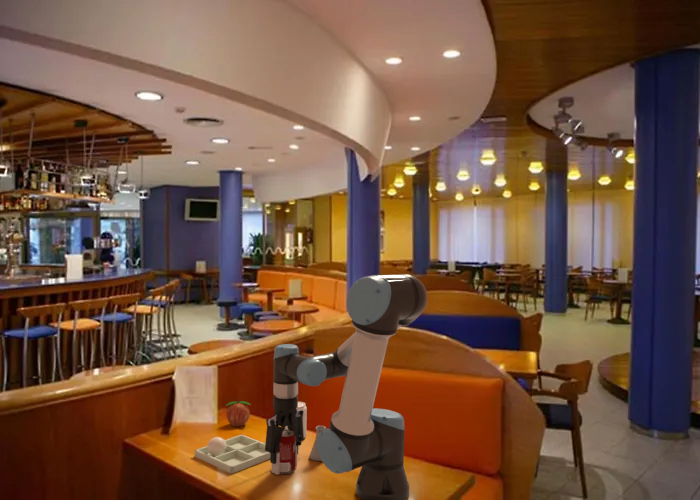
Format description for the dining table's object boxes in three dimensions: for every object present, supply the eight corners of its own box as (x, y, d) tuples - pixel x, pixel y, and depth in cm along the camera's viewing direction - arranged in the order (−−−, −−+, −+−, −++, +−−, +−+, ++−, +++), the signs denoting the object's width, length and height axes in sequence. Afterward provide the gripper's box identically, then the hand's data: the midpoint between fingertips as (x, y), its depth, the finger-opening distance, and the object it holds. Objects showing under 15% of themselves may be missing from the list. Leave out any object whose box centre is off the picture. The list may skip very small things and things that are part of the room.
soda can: (291, 476, 167) (292, 437, 166) (270, 474, 168) (270, 435, 168) (298, 467, 173) (298, 429, 173) (277, 465, 175) (278, 427, 174)
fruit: (248, 429, 207) (249, 402, 206) (222, 429, 206) (223, 402, 206) (251, 421, 215) (252, 395, 215) (226, 421, 215) (227, 395, 215)
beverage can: (280, 435, 201) (281, 402, 201) (301, 432, 205) (302, 399, 204) (287, 442, 194) (288, 408, 194) (309, 439, 197) (310, 406, 197)
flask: (304, 459, 180) (305, 428, 180) (316, 451, 187) (316, 422, 186) (324, 463, 177) (324, 432, 176) (335, 455, 183) (335, 426, 183)
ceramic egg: (230, 455, 179) (230, 437, 179) (214, 461, 175) (214, 442, 174) (218, 450, 183) (219, 432, 183) (203, 456, 178) (203, 437, 178)
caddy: (279, 457, 180) (279, 448, 180) (231, 476, 166) (232, 467, 166) (241, 443, 193) (241, 434, 193) (194, 459, 178) (194, 450, 178)
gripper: (299, 386, 180) (298, 456, 181) (252, 399, 165) (251, 475, 166) (316, 391, 175) (315, 462, 176) (269, 405, 160) (268, 483, 161)
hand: (284, 469), depth 171 cm, fingers closed on soda can, 7 cm apart
